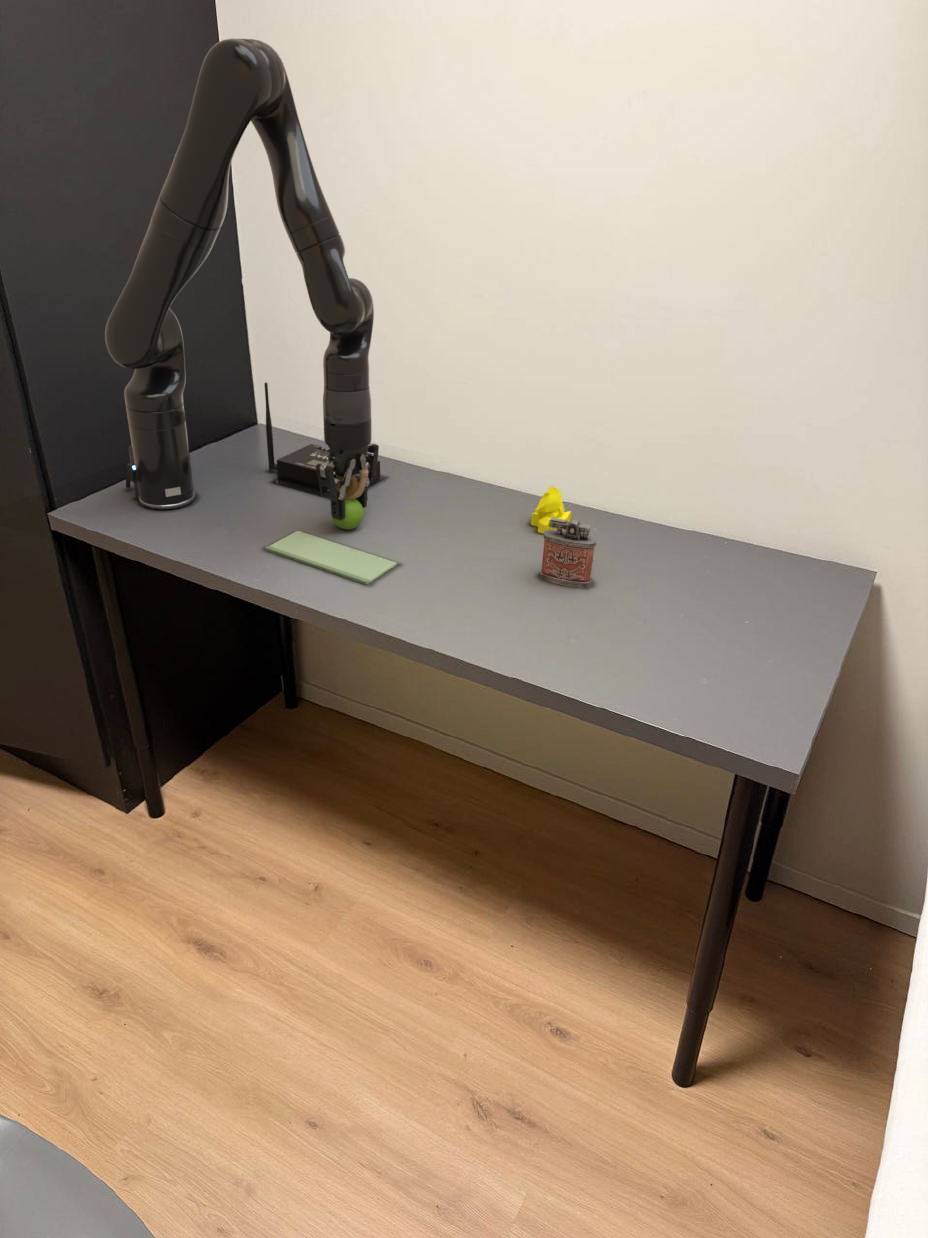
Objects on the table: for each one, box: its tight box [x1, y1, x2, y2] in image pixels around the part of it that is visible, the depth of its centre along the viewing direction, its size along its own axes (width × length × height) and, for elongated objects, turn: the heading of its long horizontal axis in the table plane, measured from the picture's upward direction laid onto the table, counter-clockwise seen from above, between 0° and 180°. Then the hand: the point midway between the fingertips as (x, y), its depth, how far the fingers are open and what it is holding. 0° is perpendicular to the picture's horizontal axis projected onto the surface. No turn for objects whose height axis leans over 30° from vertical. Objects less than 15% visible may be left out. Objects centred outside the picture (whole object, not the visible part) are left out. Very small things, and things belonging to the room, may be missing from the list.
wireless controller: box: [263, 382, 385, 497], centre depth 169 cm, size 20×14×17 cm
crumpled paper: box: [530, 485, 572, 535], centre depth 158 cm, size 6×8×8 cm
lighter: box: [539, 518, 597, 589], centre depth 140 cm, size 8×3×10 cm, turn 71°
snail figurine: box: [330, 462, 369, 530], centre depth 152 cm, size 5×6×12 cm
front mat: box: [264, 530, 398, 586], centre depth 146 cm, size 20×8×1 cm, turn 59°
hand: (349, 512), depth 153 cm, fingers closed on snail figurine, 5 cm apart
